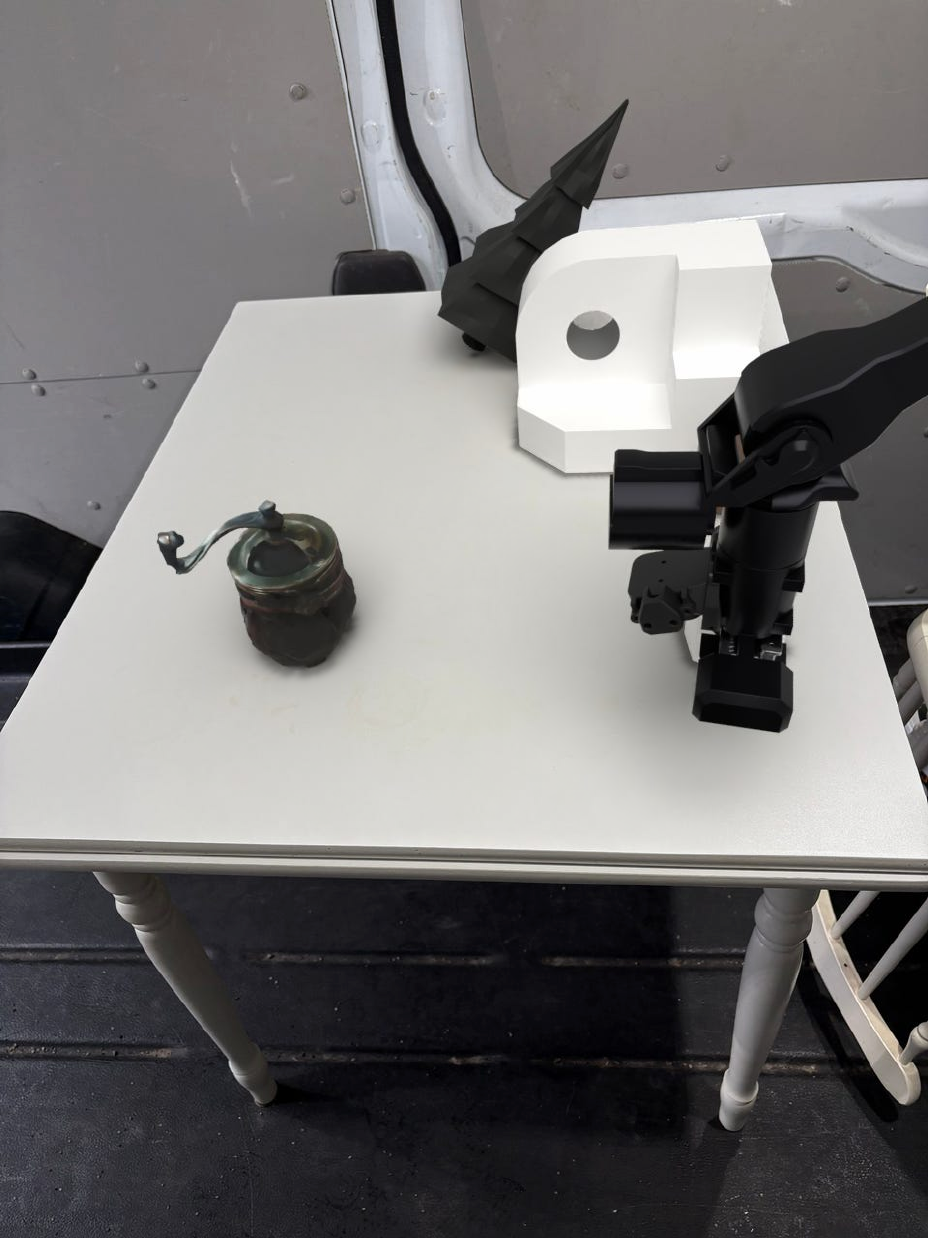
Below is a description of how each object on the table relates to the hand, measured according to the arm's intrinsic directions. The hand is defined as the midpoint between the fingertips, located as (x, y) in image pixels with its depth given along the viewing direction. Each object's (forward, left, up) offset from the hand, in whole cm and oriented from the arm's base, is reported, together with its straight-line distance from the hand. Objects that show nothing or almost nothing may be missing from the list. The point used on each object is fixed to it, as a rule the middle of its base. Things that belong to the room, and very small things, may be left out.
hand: (731, 691), depth 67 cm
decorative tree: (+30, -61, -4) cm, 68 cm away
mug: (0, -7, -4) cm, 9 cm away
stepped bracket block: (+14, -42, -4) cm, 44 cm away
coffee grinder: (+40, -1, -4) cm, 40 cm away
